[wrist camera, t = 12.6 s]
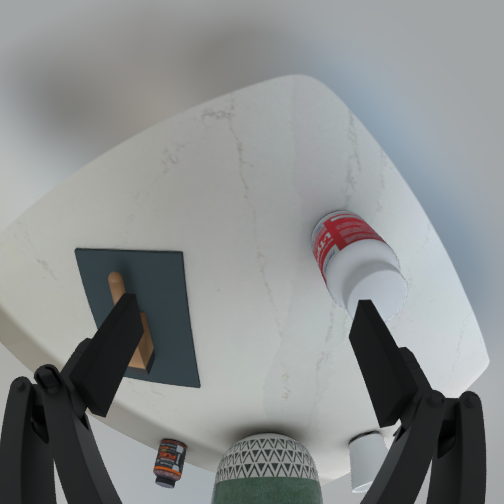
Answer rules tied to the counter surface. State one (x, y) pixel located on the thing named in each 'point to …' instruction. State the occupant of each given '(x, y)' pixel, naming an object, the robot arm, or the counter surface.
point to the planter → (267, 473)
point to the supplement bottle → (169, 463)
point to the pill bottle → (358, 264)
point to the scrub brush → (144, 350)
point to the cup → (366, 460)
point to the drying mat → (147, 305)
